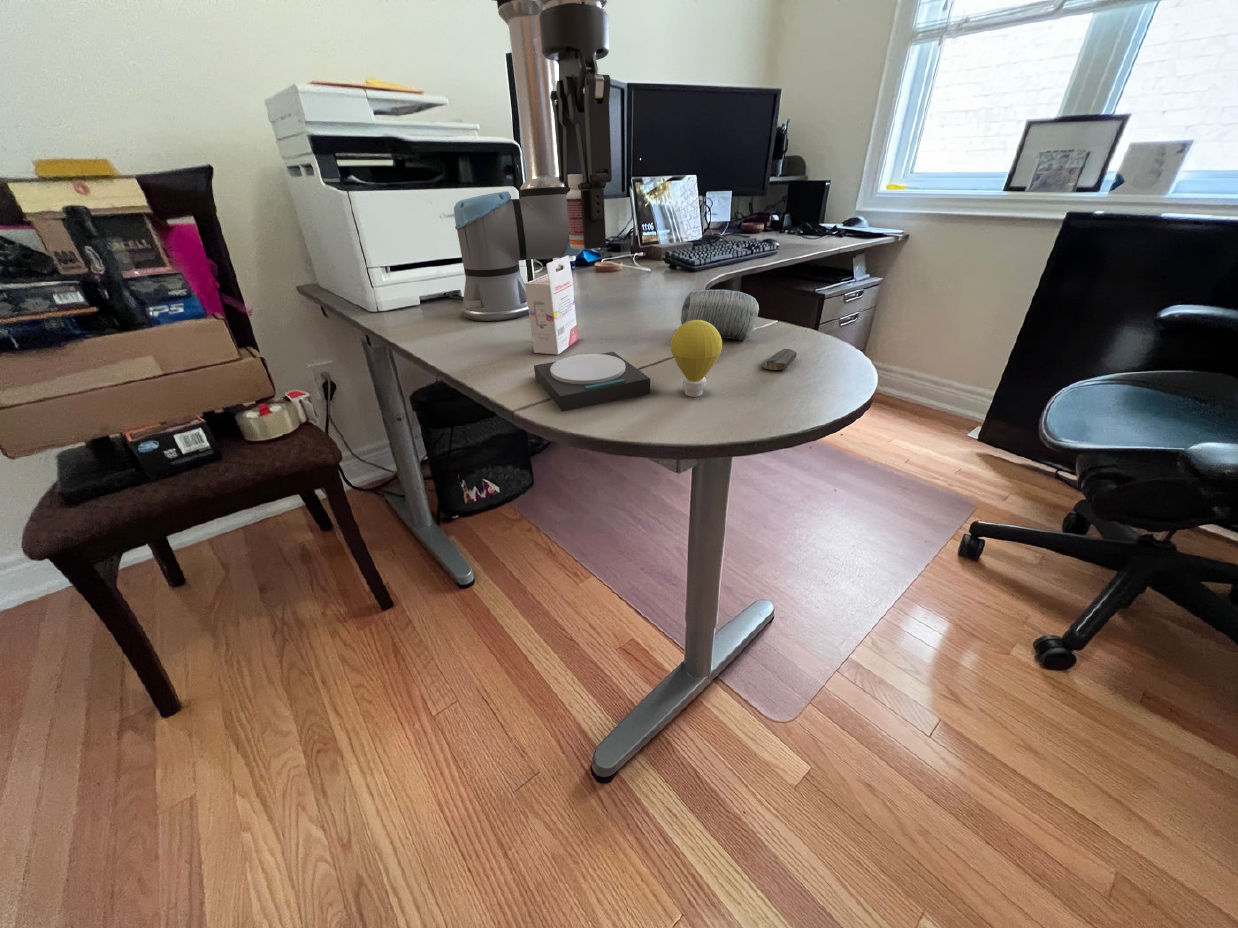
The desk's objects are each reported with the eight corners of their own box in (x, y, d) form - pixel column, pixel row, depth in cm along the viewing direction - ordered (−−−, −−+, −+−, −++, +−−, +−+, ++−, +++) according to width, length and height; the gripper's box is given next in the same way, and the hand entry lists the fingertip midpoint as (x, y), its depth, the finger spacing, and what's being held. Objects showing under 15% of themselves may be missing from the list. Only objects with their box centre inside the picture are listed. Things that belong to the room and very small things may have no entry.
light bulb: (660, 390, 69) (661, 319, 64) (698, 380, 72) (702, 311, 67) (688, 407, 64) (692, 331, 59) (728, 396, 67) (735, 322, 62)
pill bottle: (601, 250, 62) (598, 173, 58) (565, 250, 63) (559, 175, 59) (609, 244, 66) (606, 172, 62) (575, 245, 67) (570, 174, 63)
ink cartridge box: (554, 338, 92) (545, 254, 84) (578, 340, 90) (571, 254, 83) (532, 353, 85) (520, 262, 77) (558, 355, 83) (548, 263, 76)
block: (796, 361, 77) (798, 350, 76) (783, 373, 73) (785, 361, 72) (774, 357, 79) (775, 346, 78) (760, 368, 75) (761, 357, 74)
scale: (535, 379, 74) (533, 361, 73) (614, 364, 79) (613, 347, 77) (561, 411, 64) (559, 391, 63) (650, 393, 68) (650, 374, 67)
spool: (665, 322, 87) (690, 267, 84) (681, 333, 95) (704, 283, 93) (734, 351, 82) (762, 294, 80) (744, 360, 91) (770, 308, 88)
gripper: (640, -12, 47) (643, 250, 59) (577, 32, 61) (589, 237, 73) (566, -20, 44) (584, 256, 56) (518, 28, 58) (541, 241, 70)
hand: (587, 245), depth 65 cm, fingers closed on pill bottle, 5 cm apart
